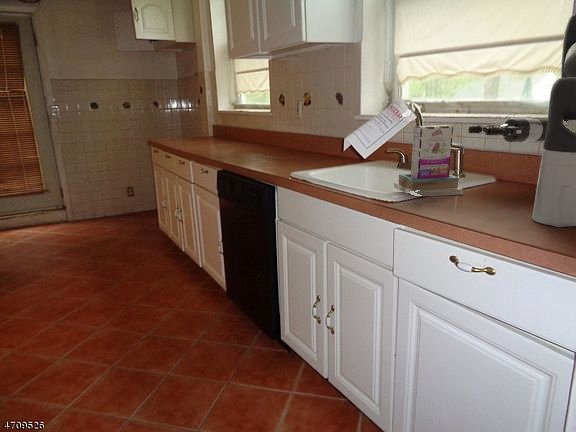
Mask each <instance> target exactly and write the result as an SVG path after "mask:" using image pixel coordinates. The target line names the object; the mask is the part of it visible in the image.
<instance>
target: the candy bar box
mask: <svg viewBox="0 0 576 432" xmlns="http://www.w3.org/2000/svg"><path fill="white" fill-rule="evenodd" d="M412 132H413V133H412V150H411V163H410V164H411V165H410V166H411V167H410V168H411V169H410V174H411V178H413V179H425V178H446V177H449V175H450V169H451V158H452V147H453V146H452V145H453V137H454V135H453V133H454V125H449V124H448V125H447V124H442V125H440V124H439V125H438V124H437V125H418V126H413V131H412Z"/></svg>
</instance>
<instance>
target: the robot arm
mask: <svg viewBox="0 0 576 432" xmlns="http://www.w3.org/2000/svg"><path fill="white" fill-rule="evenodd" d="M566 21H567V22H566V25H565V28H564V33H563V39H562V40H563V41H562V50H561V51H562V52H561V68H560V69H561V72H560V73H561V75H560V77H559V78H557V79H556V80H555V81H554V82H553V84H552V87H551V90H550V97H549V103H548V114H547V115H548V116H547V118H531V117H524V118H522V117H519V118H518V117H516V118H515V117H512V118H511V117H510V118H509V119H507V120H506V121H504V123H497V124H494V123H493V124H491V123H490V124H489V123H488V124H487V125H486V124H485V125H483V124H482V125H481V124H478V125H469V126H468V134H479V135H481V134H482V135H483V134H485V135H486V136H495V137H499V138H500V137H501V138H503V139H504V141H506V142H507V143H528V142H529V143H530V142H543V147H542V154H541V159H540V160H541V161H540V166H539V172H538V179H537V184H536V191H535V197H534V202H533V209H532V216H531V220H533V221H534V222H536V223H539V224H543V225H547V226H553V227H556V228H564V227H565V228H566V227H567V228H568V227H576V133H574V132H572V131H570V130H569V129H568V128H566V127H565V126H564V124H563V120H564V121H566V122H567V121H568V120H576V13H575V14H572V15H570V16H569V17H568V18H567V20H566Z"/></svg>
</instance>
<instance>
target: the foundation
mask: <svg viewBox="0 0 576 432" xmlns="http://www.w3.org/2000/svg"><path fill="white" fill-rule="evenodd" d="M459 180H460V178H459V177H458V176H455V175H452V174H449V177H446V178H425V179H413V178H411V173H399V175H398V182H394V185H393V188H394V189H396V190H399V191H401V192H403V193H405V192H410V191H414V192H415V191H416V190H420V191H418V192H415V193H417V194H420V195H422V197H436V196H451V195H452V196H453V195H456V196H457V195H463V192H464V190H463V188H459Z"/></svg>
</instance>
